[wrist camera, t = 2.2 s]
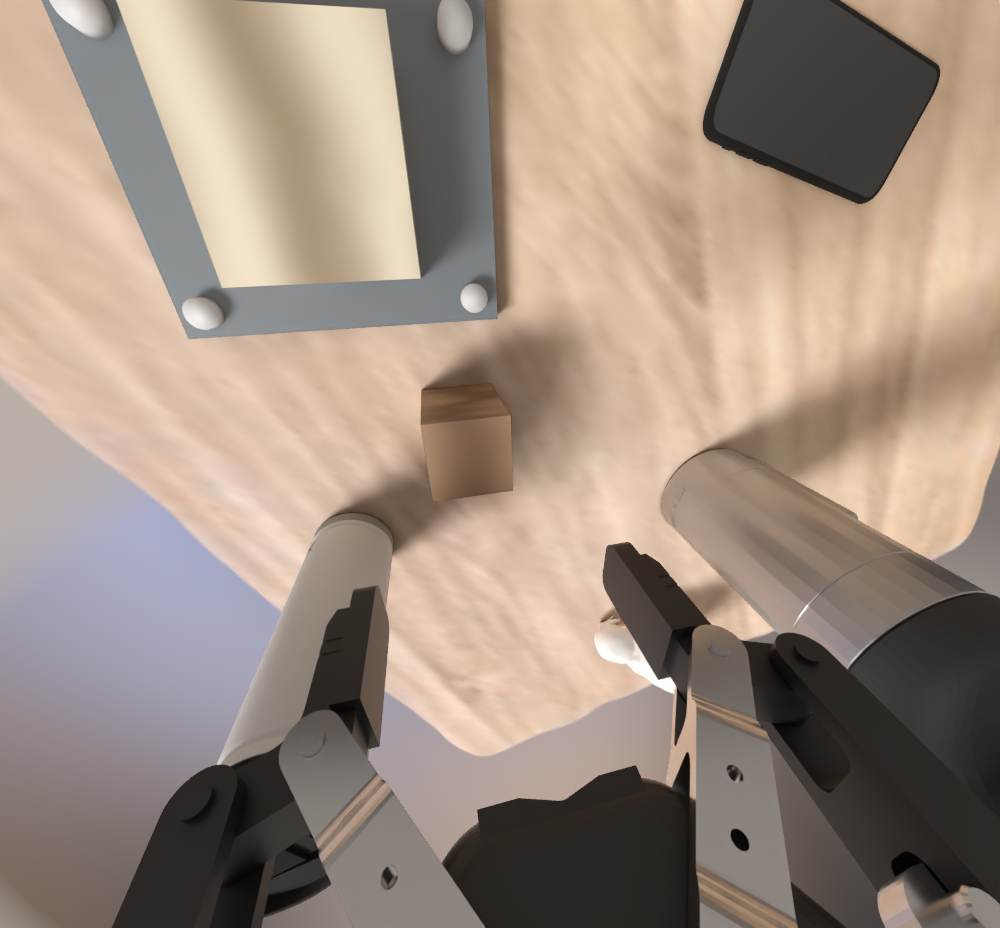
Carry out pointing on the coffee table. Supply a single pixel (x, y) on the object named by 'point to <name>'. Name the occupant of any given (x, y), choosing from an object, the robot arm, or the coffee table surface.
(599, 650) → the white lumpy piece
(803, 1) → the smartphone
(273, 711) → the travel mug
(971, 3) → the coffee table surface
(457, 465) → the walnut block
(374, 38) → the birch plinth
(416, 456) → the coffee table surface
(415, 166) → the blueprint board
